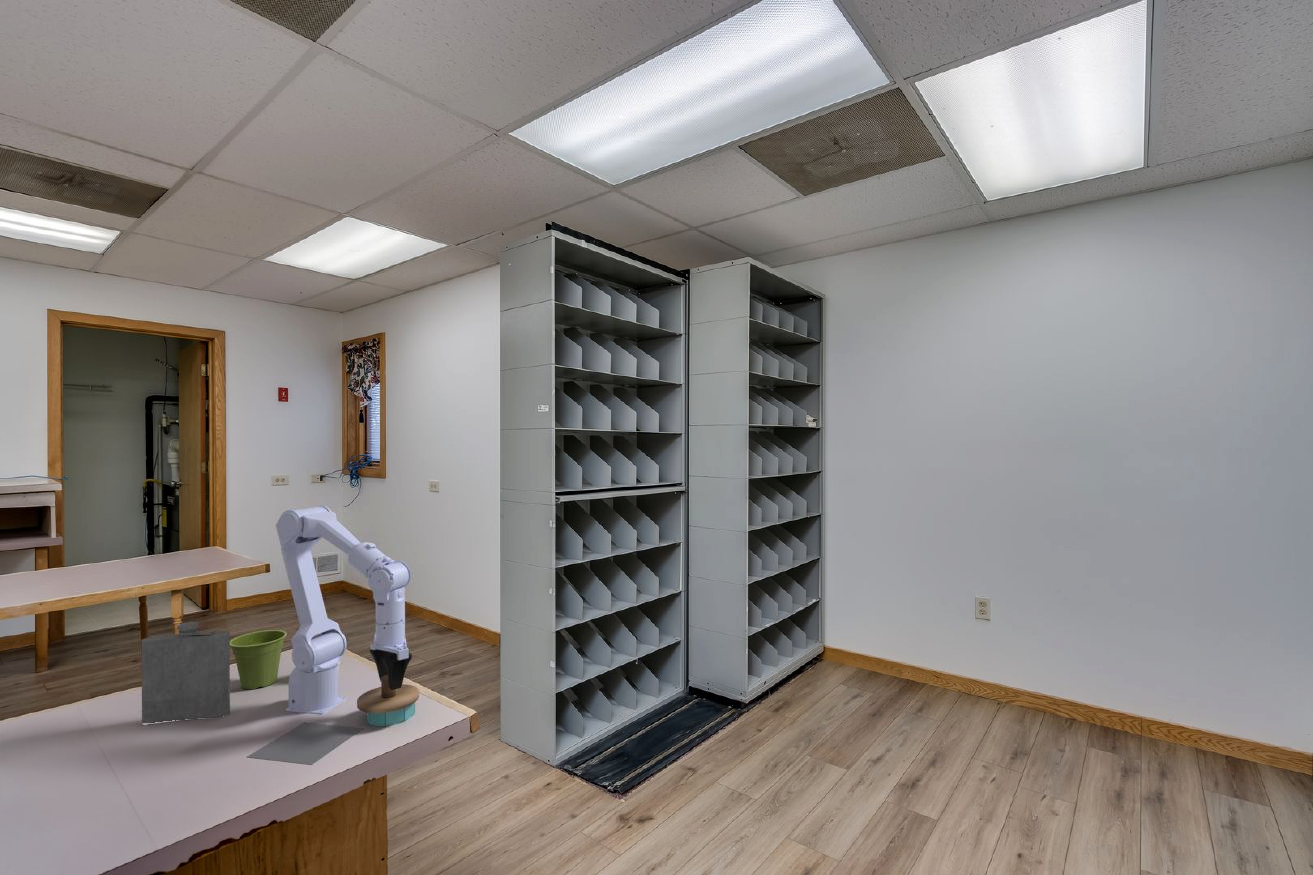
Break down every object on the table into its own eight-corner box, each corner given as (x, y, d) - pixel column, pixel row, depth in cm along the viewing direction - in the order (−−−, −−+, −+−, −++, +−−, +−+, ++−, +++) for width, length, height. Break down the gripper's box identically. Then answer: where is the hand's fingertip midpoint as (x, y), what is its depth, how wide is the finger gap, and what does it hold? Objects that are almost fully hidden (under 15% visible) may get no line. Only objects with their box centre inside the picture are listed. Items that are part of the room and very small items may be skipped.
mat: (246, 758, 113) (246, 756, 113) (304, 724, 127) (304, 722, 127) (311, 766, 110) (311, 764, 110) (363, 730, 124) (363, 728, 124)
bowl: (357, 726, 126) (357, 707, 126) (385, 707, 135) (385, 689, 135) (396, 730, 124) (396, 710, 124) (422, 710, 133) (422, 692, 133)
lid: (343, 710, 124) (343, 686, 124) (380, 686, 136) (380, 664, 136) (397, 715, 122) (397, 690, 122) (430, 690, 134) (429, 667, 134)
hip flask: (138, 726, 126) (137, 629, 126) (149, 717, 130) (149, 624, 130) (226, 717, 130) (225, 623, 130) (234, 709, 134) (233, 618, 134)
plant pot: (241, 677, 152) (240, 631, 152) (294, 672, 155) (293, 628, 155) (219, 696, 141) (219, 647, 141) (277, 691, 143) (276, 643, 143)
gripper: (359, 617, 132) (359, 680, 132) (383, 632, 121) (383, 700, 121) (392, 610, 137) (392, 671, 137) (418, 624, 126) (418, 690, 126)
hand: (390, 684), depth 129 cm, fingers open, 5 cm apart
